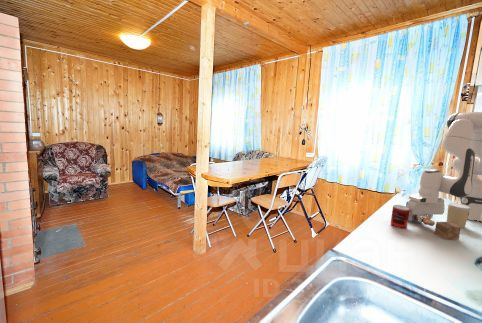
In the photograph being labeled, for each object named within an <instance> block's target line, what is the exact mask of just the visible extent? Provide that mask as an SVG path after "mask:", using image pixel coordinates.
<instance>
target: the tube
mask: <svg viewBox="0 0 482 323" xmlns="http://www.w3.org/2000/svg"><path fill="white" fill-rule="evenodd" d="M421 217H422V219H423V222H422V224H424V225H426V226H430V227H434V226H435V225H436V223H435V221H434V220H431V219H429V218H427V216H426V217H425V216H424V215H423V216H421ZM414 218H415V219H417V220H418V217H417V215H415V216H414Z"/></svg>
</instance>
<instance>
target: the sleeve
mask: <svg viewBox="0 0 482 323" xmlns="http://www.w3.org/2000/svg"><path fill="white" fill-rule="evenodd" d="M414 216H415V215H412V214H410V213H409V218H408V223H411V224H417V223H419V224H423V222H419V221H418V220H417V219H415V218H414ZM422 216H423V217H424V215H422Z"/></svg>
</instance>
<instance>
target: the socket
mask: <svg viewBox="0 0 482 323" xmlns="http://www.w3.org/2000/svg"><path fill="white" fill-rule="evenodd" d="M461 230H462V228H461V227H460V226H458V225H455V224H453V223H450V222H447V221H436V223H435V229H434V235H435V236H437V237H439V238H441V239H443V240H445V241H447V240H448V241H450V240H452V241H454V240H455V241H457V240H459V239H460V234H461Z"/></svg>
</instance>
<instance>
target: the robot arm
mask: <svg viewBox="0 0 482 323" xmlns="http://www.w3.org/2000/svg"><path fill="white" fill-rule="evenodd" d="M446 126H447V131H446V133H445V136H444V138H443V140H442V149H444V151H445V152H446V153H448V154H449V155H452V156H453V157H455V158H454V159H453V160H452V168H453V170H455V171H456V172H457V173H458V177H457V176H456V177H454V176H450V175H447V174H443V173H442V171H441V170H440V169H437V168H426V169H424V170H423V171H422V173H421V176H420V181H419V189H418V192H417V193H414V194H411V195H409V197H408V199H409V201H408V205H407V207H408V208H410V211H409V213H410V214H412V215H417V217H418V221H419V222H422V223H423V219H422V217H421V216H422V215H423V216H426V217H427V218H429V219H430V220H431V219H432V218H433V216H434V215H444V213H445V208H446V207H445V200H444V198H443V197H439V196H440V193H442V194H448V195H450V196H452V197H456V198H459V200H458V201H457V204H462V205H465V206H468V207H470V211H469V215H468V218H467V220H470V221H474V220H477V221H476V222H479V221H481V222H480V223H482V180H481V179H480V178H479V177H478V175H479V176H482V111H473V112H472V111H471V112H456V113H453V114H451V115H449V117H448V118H447V121H446ZM439 192H440V193H439Z"/></svg>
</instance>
